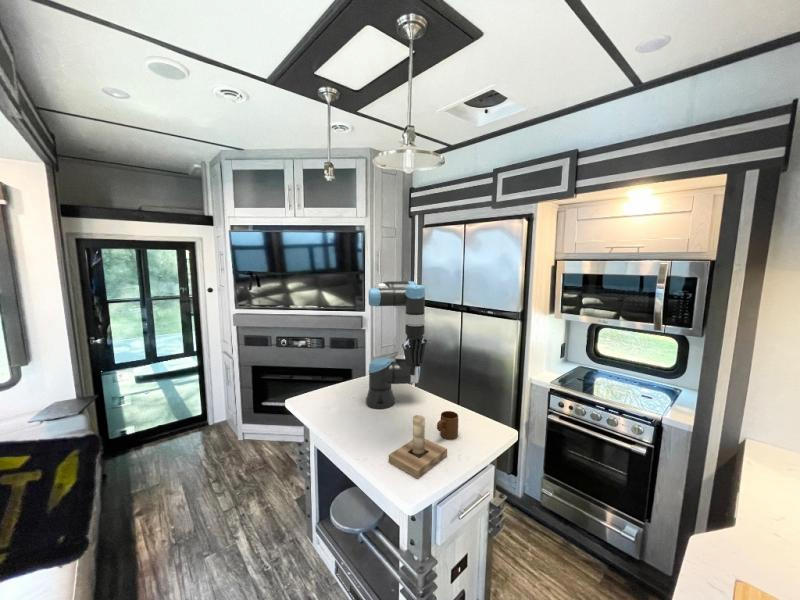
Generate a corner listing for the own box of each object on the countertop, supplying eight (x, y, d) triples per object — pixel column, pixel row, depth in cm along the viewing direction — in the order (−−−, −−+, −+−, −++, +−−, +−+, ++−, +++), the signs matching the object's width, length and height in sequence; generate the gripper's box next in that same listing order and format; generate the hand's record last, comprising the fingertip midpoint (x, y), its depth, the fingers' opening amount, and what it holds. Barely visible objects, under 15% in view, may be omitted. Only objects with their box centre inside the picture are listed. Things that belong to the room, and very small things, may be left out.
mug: (444, 446, 133) (445, 424, 132) (430, 439, 138) (430, 418, 137) (461, 435, 142) (462, 414, 140) (447, 429, 147) (447, 409, 146)
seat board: (418, 442, 136) (418, 435, 135) (447, 456, 126) (447, 448, 126) (388, 462, 123) (388, 454, 122) (417, 479, 113) (417, 471, 113)
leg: (417, 452, 128) (417, 413, 126) (426, 457, 125) (427, 417, 123) (409, 458, 124) (410, 418, 122) (419, 463, 121) (419, 422, 119)
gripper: (417, 320, 136) (417, 375, 139) (396, 325, 127) (396, 384, 129) (432, 323, 131) (431, 380, 134) (411, 328, 122) (411, 389, 124)
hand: (414, 382), depth 132 cm, fingers closed
